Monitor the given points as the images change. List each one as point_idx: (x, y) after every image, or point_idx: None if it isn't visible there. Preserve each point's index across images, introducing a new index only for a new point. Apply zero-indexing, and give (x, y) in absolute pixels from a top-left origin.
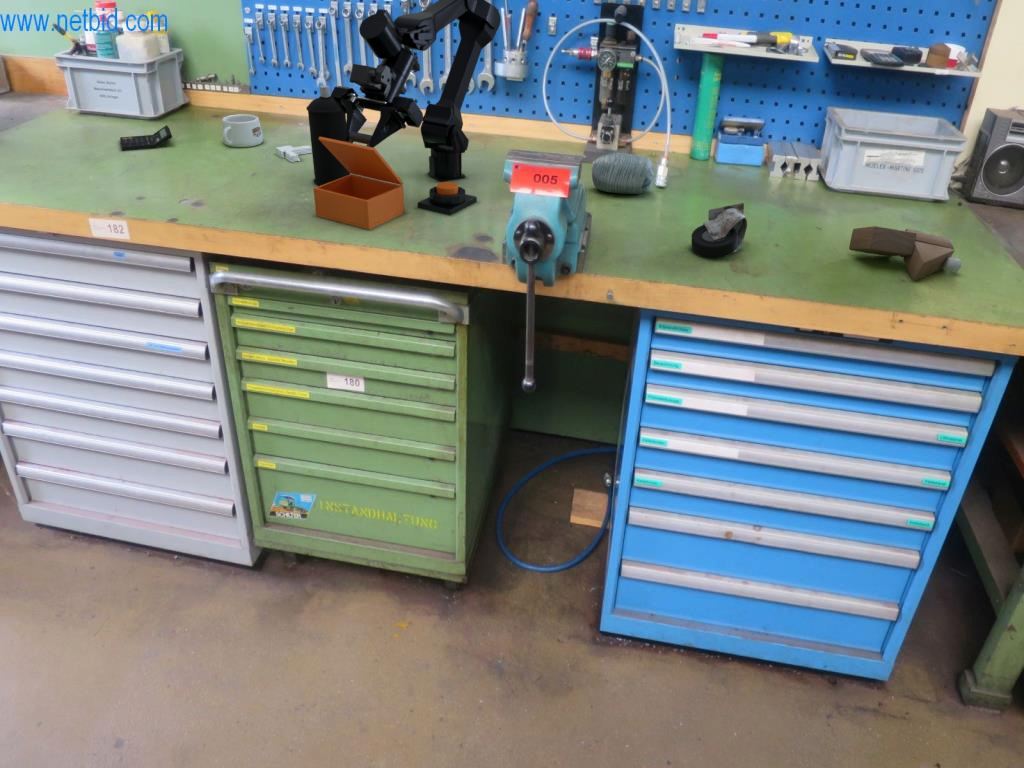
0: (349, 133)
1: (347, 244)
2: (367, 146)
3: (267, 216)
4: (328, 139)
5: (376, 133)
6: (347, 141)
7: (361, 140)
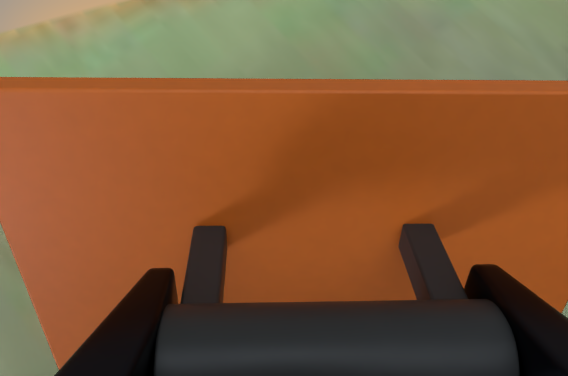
0: (501, 320)
1: (130, 5)
2: (45, 89)
3: (549, 51)
4: (549, 85)
5: (74, 360)
6: (467, 280)
7: (302, 302)
